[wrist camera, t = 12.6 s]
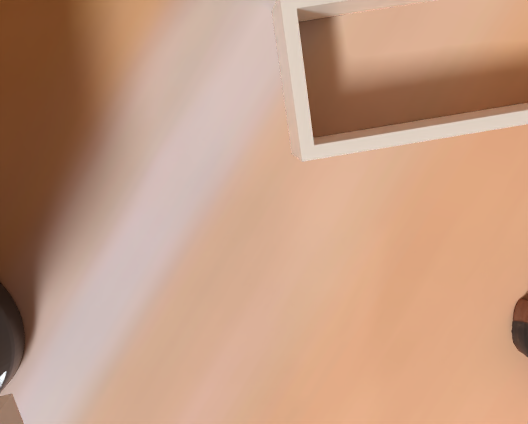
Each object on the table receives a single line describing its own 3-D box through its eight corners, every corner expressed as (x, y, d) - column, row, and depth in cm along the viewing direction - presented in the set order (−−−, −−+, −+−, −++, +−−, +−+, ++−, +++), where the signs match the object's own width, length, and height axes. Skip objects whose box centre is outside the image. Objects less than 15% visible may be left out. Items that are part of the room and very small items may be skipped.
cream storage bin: (291, 153, 37) (301, 161, 31) (271, 11, 34) (279, -6, 29) (558, 109, 38) (613, 109, 32) (559, -33, 35) (618, -58, 30)
